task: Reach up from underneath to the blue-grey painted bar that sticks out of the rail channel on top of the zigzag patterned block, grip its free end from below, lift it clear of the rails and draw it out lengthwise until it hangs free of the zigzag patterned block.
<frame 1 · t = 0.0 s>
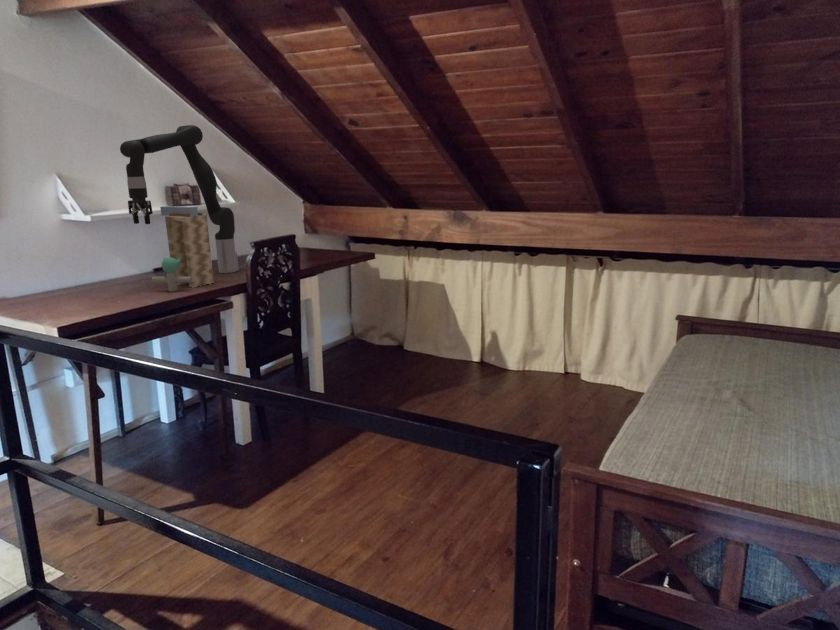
hand: (142, 223, 282), 29 cm above the table, tool pointing down, fingers open, 8 cm apart
bar: (179, 215, 288), point 32 cm above the table, touching zigzag patterned block
zigzag patterned block: (193, 284, 293), on the table
toy: (173, 291, 280), on the table
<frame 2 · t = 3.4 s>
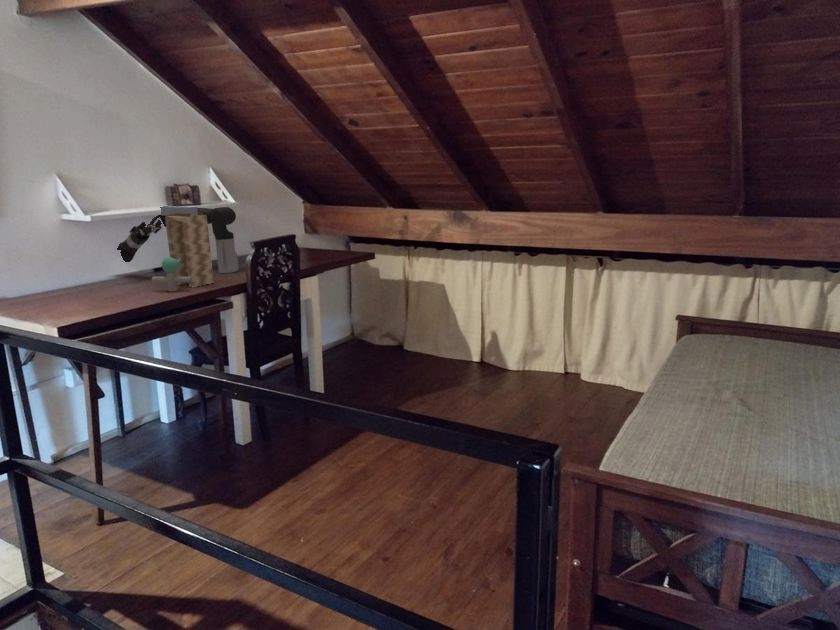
hand: (152, 222, 300), 28 cm above the table, tool pointing upward, fingers open, 8 cm apart
nothing on the table moved.
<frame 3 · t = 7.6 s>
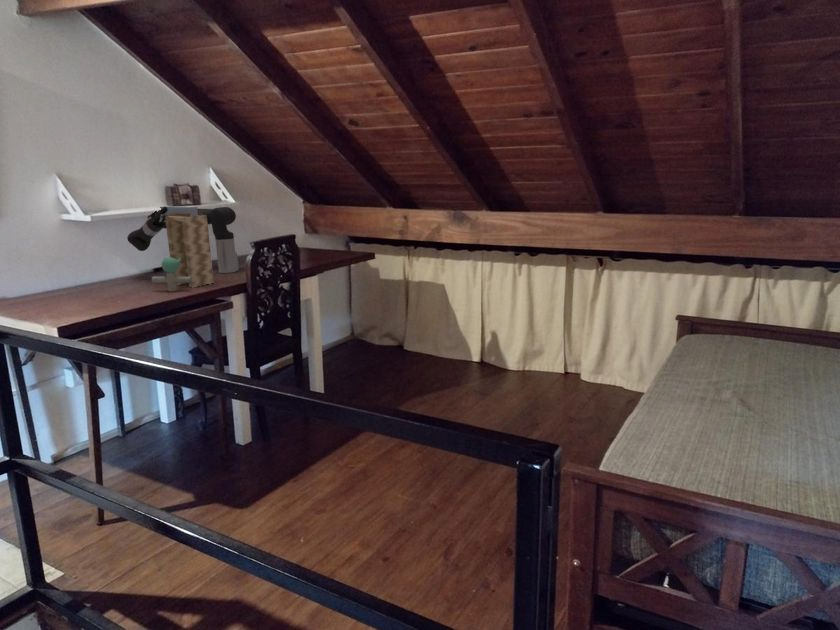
hand: (170, 207, 290), 35 cm above the table, tool pointing upward, fingers closed on bar, 4 cm apart
bar: (179, 215, 288), point 32 cm above the table, touching zigzag patterned block, gripper
everything else where it was.
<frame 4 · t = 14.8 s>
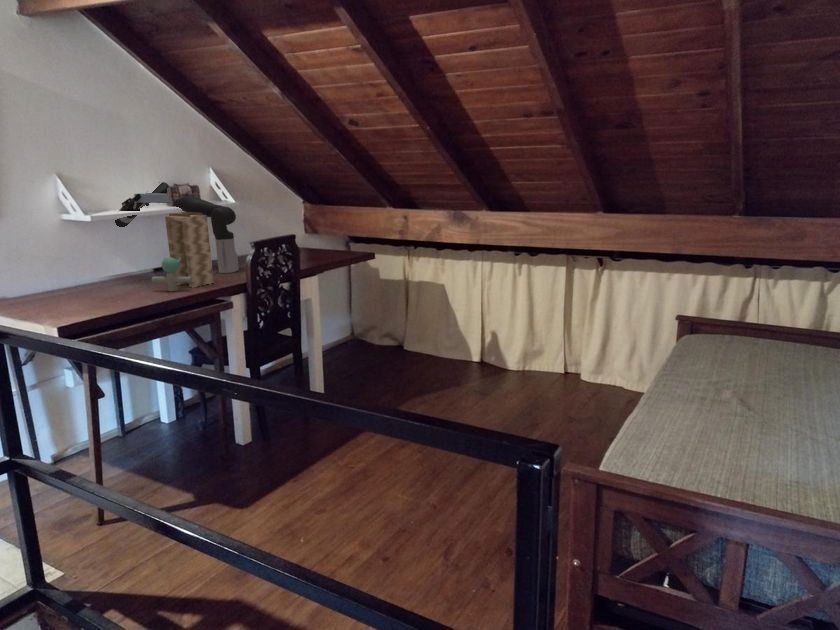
hand: (144, 194, 298), 41 cm above the table, tool pointing upward, fingers closed on bar, 4 cm apart
bar: (152, 202, 295), point 38 cm above the table, touching gripper
everything else where it was.
at the end: the gripper is holding bar; bar inside the target area (1.2 cm from its centre), point 37.8 cm above the table; bar touching gripper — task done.
